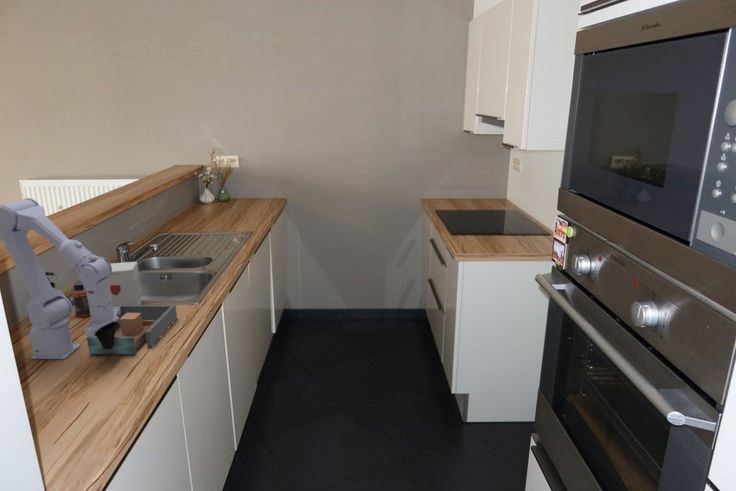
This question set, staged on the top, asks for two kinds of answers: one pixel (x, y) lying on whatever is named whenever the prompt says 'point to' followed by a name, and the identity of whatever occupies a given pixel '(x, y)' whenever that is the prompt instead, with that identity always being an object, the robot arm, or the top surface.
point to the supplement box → (125, 284)
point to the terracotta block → (131, 323)
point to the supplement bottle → (80, 300)
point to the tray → (121, 341)
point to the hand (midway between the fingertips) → (108, 348)
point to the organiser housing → (152, 318)
